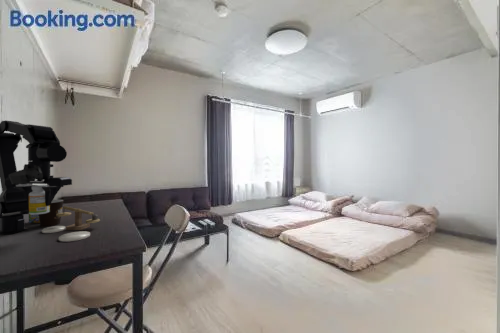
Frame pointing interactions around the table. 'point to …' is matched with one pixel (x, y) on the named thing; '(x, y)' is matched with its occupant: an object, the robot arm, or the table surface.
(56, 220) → the coffee mug
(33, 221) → the crayon box
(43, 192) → the supplement bottle
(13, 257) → the table surface
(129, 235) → the table surface
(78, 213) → the balance
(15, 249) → the table surface
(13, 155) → the robot arm
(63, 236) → the dish low
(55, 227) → the dish high
